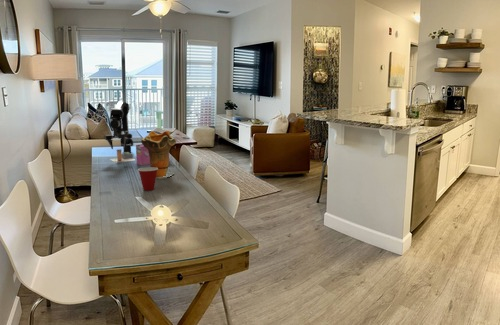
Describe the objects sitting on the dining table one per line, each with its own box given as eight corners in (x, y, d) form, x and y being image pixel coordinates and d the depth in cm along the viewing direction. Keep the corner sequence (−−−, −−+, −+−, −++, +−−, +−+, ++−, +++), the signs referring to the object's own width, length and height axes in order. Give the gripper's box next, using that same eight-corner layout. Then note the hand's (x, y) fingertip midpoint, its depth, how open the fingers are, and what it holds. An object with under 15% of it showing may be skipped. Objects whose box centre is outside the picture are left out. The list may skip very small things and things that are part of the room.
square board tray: (108, 160, 292) (107, 155, 291) (129, 157, 302) (129, 152, 301) (115, 163, 280) (115, 158, 279) (137, 161, 290) (137, 156, 289)
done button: (123, 156, 297) (123, 152, 297) (128, 155, 300) (128, 151, 299) (125, 156, 295) (125, 153, 294) (130, 156, 297) (129, 152, 296)
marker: (116, 160, 287) (115, 149, 285) (121, 159, 289) (120, 149, 287) (118, 161, 284) (117, 150, 282) (122, 160, 286) (122, 149, 284)
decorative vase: (142, 180, 234) (141, 133, 230) (142, 173, 256) (140, 130, 252) (178, 179, 240) (177, 132, 235) (175, 172, 262) (174, 129, 257)
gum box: (165, 159, 298) (164, 141, 295) (171, 161, 292) (170, 142, 289) (136, 163, 281) (135, 144, 278) (142, 165, 276) (141, 146, 273)
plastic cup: (156, 185, 225) (156, 165, 223) (160, 190, 216) (159, 169, 213) (137, 187, 221) (136, 166, 219) (140, 192, 211) (139, 171, 209)
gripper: (108, 128, 269) (109, 151, 272) (134, 127, 281) (135, 148, 284) (102, 127, 278) (104, 149, 281) (128, 125, 289) (129, 146, 292)
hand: (118, 148), depth 284 cm, fingers open, 9 cm apart
